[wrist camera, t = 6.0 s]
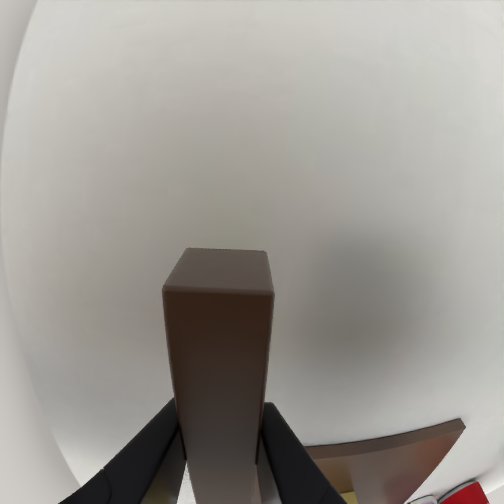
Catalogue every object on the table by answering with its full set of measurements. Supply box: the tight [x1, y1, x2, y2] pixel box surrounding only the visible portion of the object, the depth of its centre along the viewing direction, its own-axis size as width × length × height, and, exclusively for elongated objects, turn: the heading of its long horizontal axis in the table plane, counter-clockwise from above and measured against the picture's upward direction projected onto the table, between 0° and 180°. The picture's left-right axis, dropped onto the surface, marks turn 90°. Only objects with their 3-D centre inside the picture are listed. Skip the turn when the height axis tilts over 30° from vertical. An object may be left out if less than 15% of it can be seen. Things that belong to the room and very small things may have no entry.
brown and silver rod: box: [162, 248, 275, 504], centre depth 10 cm, size 2×21×2 cm, turn 177°
